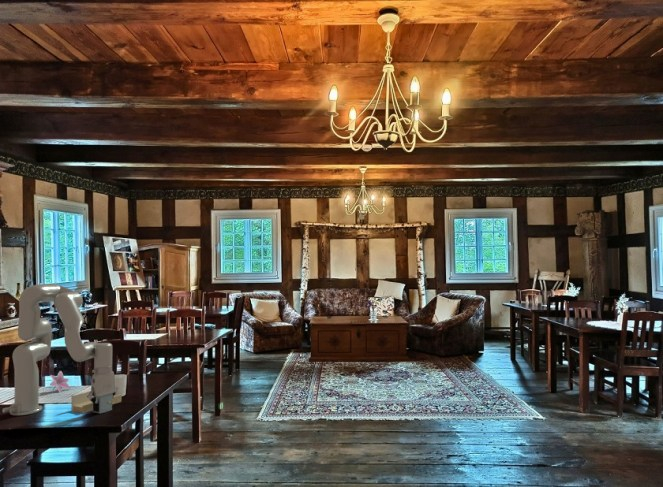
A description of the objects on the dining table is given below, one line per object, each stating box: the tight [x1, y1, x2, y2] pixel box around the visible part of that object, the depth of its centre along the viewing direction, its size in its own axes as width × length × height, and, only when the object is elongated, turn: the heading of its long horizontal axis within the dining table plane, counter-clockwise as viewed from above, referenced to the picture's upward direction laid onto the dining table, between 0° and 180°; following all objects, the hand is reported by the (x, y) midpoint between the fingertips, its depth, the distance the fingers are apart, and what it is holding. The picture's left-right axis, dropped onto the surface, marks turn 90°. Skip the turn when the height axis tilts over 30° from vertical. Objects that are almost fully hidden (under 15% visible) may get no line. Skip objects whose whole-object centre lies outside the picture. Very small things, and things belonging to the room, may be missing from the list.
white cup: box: [114, 373, 128, 397], centre depth 243 cm, size 8×8×10 cm
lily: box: [49, 370, 72, 393], centre depth 255 cm, size 12×12×10 cm
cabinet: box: [92, 394, 113, 415], centre depth 217 cm, size 6×6×8 cm
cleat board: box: [70, 390, 122, 414], centre depth 225 cm, size 20×9×7 cm, turn 152°
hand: (102, 408), depth 217 cm, fingers closed on cabinet, 6 cm apart
